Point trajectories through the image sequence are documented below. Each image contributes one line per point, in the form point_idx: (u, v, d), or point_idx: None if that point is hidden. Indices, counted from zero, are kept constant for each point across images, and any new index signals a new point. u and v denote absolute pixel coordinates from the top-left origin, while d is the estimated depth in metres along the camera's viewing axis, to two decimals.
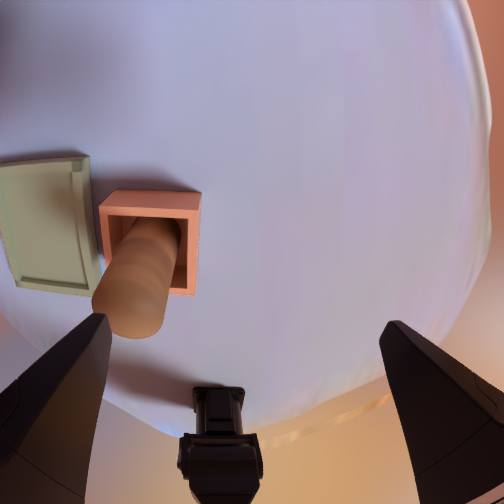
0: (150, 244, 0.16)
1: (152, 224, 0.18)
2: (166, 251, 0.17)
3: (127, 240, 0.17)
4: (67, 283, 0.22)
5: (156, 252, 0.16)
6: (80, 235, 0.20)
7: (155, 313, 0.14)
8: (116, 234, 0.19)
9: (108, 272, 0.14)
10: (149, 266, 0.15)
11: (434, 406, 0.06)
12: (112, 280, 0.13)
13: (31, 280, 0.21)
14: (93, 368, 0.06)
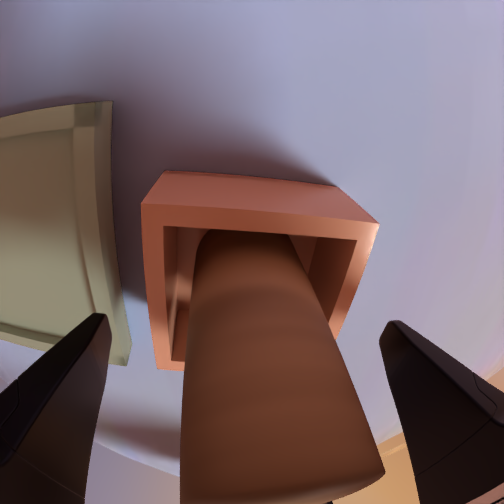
0: (302, 310, 0.06)
1: (270, 249, 0.09)
2: (325, 317, 0.07)
3: (230, 295, 0.07)
4: None
5: (323, 330, 0.06)
6: (89, 263, 0.10)
7: (359, 486, 0.04)
8: (171, 265, 0.10)
9: (231, 433, 0.04)
10: (342, 384, 0.05)
11: (434, 406, 0.06)
12: (282, 478, 0.03)
13: (9, 328, 0.12)
14: (93, 368, 0.06)
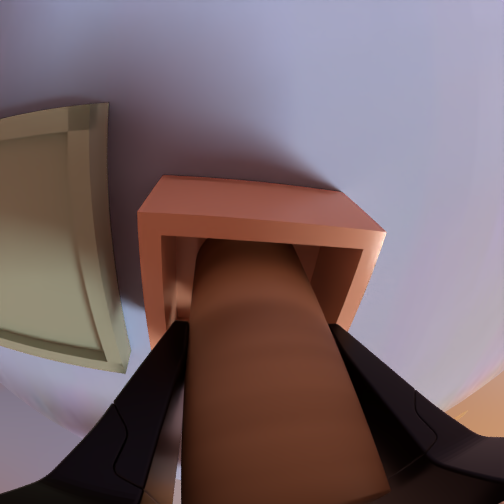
0: (307, 325, 0.06)
1: (273, 258, 0.08)
2: (330, 330, 0.07)
3: (232, 310, 0.06)
4: (65, 345, 0.12)
5: (329, 346, 0.06)
6: (85, 271, 0.09)
7: (363, 503, 0.04)
8: (170, 274, 0.09)
9: (233, 459, 0.03)
10: (349, 404, 0.04)
11: None
12: None
13: (6, 333, 0.11)
14: (184, 379, 0.06)
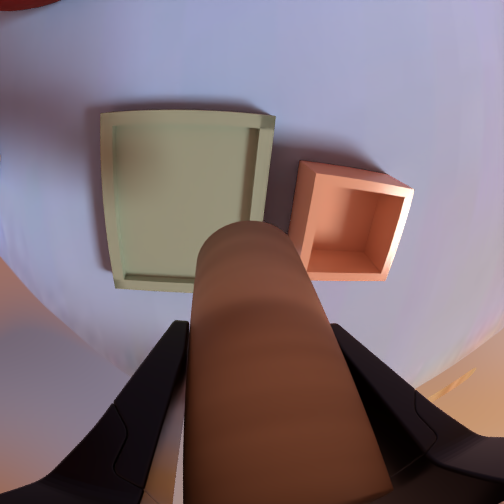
0: (309, 324, 0.06)
1: (275, 258, 0.08)
2: None
3: (234, 309, 0.06)
4: None
5: (331, 345, 0.06)
6: (253, 213, 0.17)
7: (366, 502, 0.04)
8: None
9: (237, 458, 0.03)
10: (351, 403, 0.04)
11: None
12: None
13: (142, 277, 0.19)
14: (184, 379, 0.06)
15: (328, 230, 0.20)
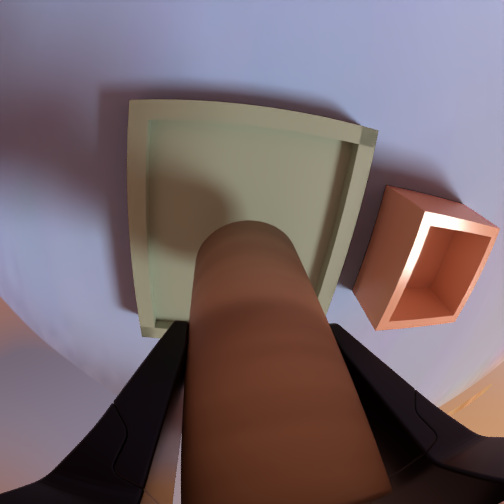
0: (308, 324, 0.06)
1: (274, 258, 0.08)
2: None
3: (232, 309, 0.06)
4: None
5: (330, 345, 0.06)
6: (335, 251, 0.13)
7: (365, 503, 0.04)
8: None
9: (235, 458, 0.03)
10: (350, 404, 0.04)
11: None
12: None
13: None
14: None
15: None
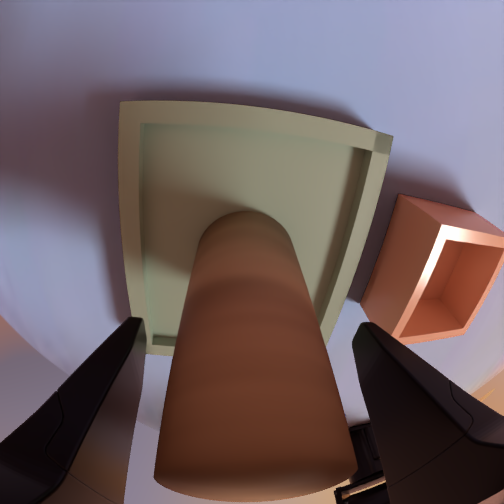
0: (287, 300, 0.07)
1: (265, 243, 0.09)
2: (313, 309, 0.08)
3: (220, 284, 0.07)
4: None
5: (306, 321, 0.07)
6: (344, 266, 0.12)
7: (333, 479, 0.04)
8: None
9: (202, 408, 0.04)
10: (319, 373, 0.05)
11: (406, 416, 0.06)
12: (242, 455, 0.03)
13: None
14: (133, 374, 0.06)
15: None
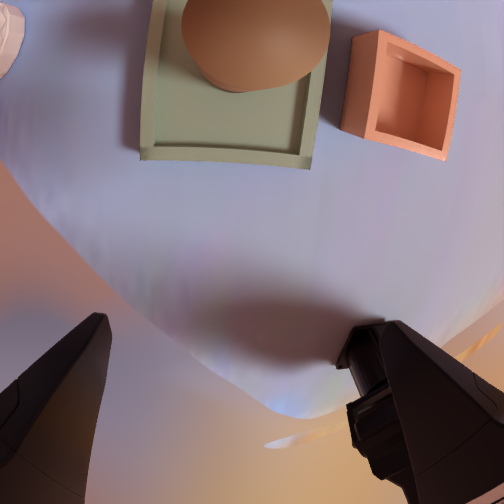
0: None
1: None
2: None
3: None
4: (252, 149, 0.16)
5: None
6: (314, 69, 0.13)
7: (316, 29, 0.06)
8: None
9: None
10: None
11: (434, 406, 0.06)
12: None
13: (177, 145, 0.15)
14: (93, 368, 0.06)
15: (383, 109, 0.16)
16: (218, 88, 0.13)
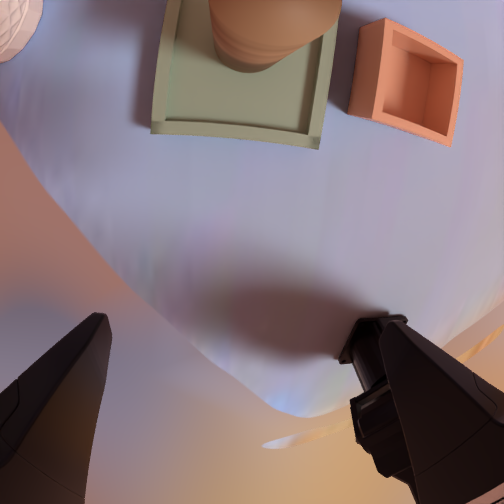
0: None
1: None
2: None
3: None
4: (262, 127, 0.16)
5: None
6: (323, 53, 0.13)
7: None
8: None
9: None
10: None
11: (434, 406, 0.06)
12: None
13: (188, 121, 0.15)
14: (93, 368, 0.06)
15: (389, 96, 0.16)
16: (231, 66, 0.13)
